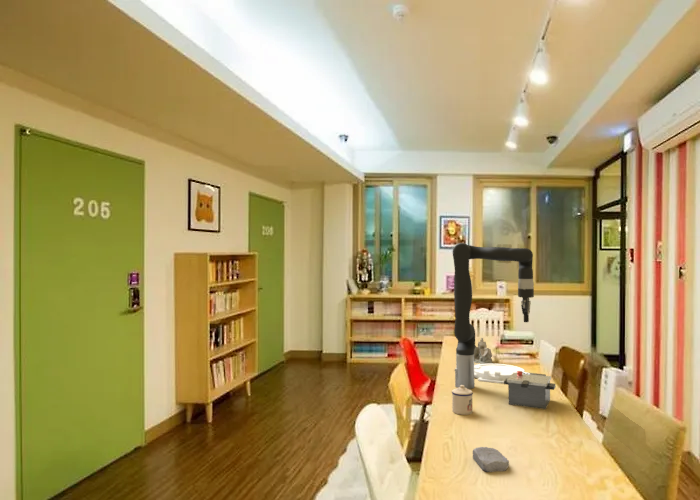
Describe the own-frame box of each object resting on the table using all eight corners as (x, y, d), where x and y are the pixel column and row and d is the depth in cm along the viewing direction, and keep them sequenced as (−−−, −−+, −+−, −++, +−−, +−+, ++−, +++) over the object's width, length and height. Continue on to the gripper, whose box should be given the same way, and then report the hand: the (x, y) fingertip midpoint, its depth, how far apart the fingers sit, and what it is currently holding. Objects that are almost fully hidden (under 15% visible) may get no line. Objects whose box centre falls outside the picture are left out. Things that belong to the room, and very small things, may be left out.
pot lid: (504, 385, 222) (504, 379, 222) (514, 374, 243) (514, 368, 243) (544, 390, 214) (544, 383, 214) (551, 378, 235) (551, 372, 235)
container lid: (529, 372, 291) (528, 362, 292) (519, 386, 261) (519, 374, 261) (478, 367, 305) (478, 357, 305) (463, 380, 274) (463, 369, 274)
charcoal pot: (501, 403, 229) (501, 381, 229) (508, 394, 243) (508, 374, 243) (552, 410, 218) (552, 387, 218) (556, 400, 232) (556, 379, 232)
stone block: (496, 461, 169) (469, 457, 168) (499, 448, 169) (472, 443, 168) (511, 478, 157) (482, 474, 156) (514, 464, 157) (485, 459, 156)
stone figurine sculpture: (464, 358, 329) (465, 336, 328) (489, 359, 327) (490, 337, 327) (467, 365, 314) (468, 341, 313) (494, 366, 312) (495, 343, 311)
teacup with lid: (471, 416, 211) (471, 388, 212) (450, 414, 214) (450, 387, 215) (474, 407, 223) (474, 382, 223) (454, 406, 226) (454, 380, 226)
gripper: (520, 286, 257) (520, 320, 256) (515, 288, 245) (516, 323, 245) (535, 287, 253) (536, 321, 253) (531, 288, 241) (532, 324, 241)
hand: (526, 322), depth 249 cm, fingers closed
